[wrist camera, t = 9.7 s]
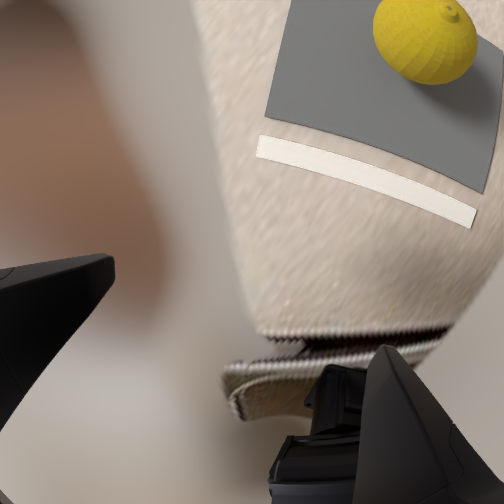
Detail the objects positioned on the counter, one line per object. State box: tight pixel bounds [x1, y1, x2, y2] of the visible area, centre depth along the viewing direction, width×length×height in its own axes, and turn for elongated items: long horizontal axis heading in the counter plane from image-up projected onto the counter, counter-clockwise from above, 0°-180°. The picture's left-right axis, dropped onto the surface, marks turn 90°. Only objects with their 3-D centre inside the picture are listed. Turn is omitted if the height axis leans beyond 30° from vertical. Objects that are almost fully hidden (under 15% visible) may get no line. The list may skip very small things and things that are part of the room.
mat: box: [265, 0, 503, 193], centre depth 13 cm, size 12×16×1 cm
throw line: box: [256, 135, 477, 229], centre depth 16 cm, size 2×16×1 cm, turn 79°
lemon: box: [373, 0, 478, 85], centre depth 9 cm, size 6×6×8 cm
